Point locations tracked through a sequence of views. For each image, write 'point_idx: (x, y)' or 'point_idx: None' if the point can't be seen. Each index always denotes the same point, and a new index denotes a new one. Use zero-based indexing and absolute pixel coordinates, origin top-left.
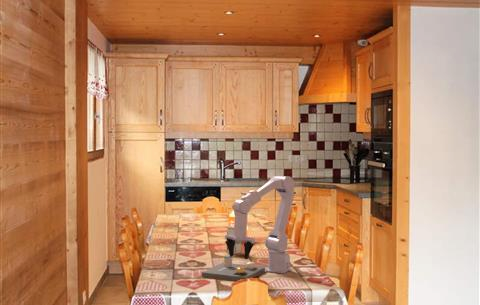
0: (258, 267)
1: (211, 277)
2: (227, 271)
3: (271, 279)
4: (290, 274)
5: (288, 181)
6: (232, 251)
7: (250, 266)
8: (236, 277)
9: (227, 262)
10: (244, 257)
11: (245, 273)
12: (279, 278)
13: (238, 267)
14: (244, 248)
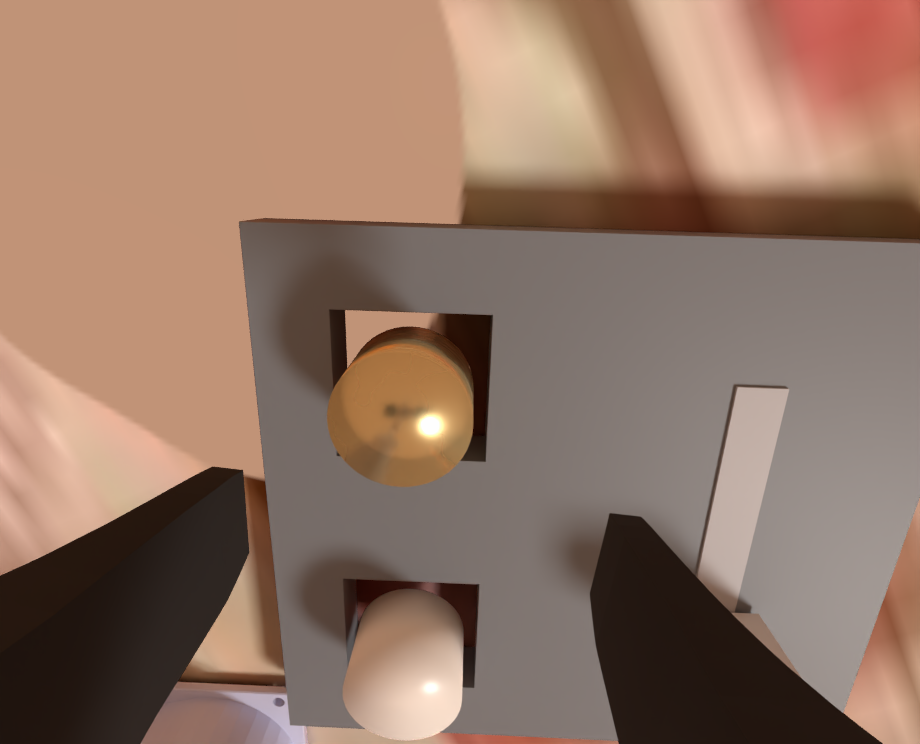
0: None
1: (794, 235)
2: (631, 426)
3: (76, 452)
4: None
5: None
6: (627, 663)
7: (381, 626)
8: (396, 225)
9: None
10: (225, 483)
11: None
12: (30, 516)
13: (443, 431)
14: (7, 644)
